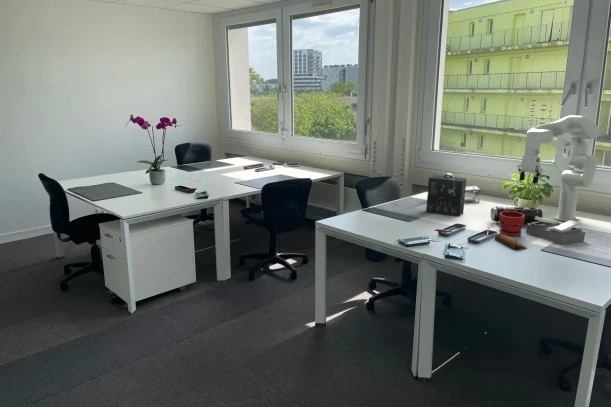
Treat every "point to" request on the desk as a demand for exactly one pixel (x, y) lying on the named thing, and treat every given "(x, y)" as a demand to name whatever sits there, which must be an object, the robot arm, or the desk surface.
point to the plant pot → (511, 223)
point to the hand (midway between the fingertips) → (528, 181)
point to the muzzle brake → (528, 212)
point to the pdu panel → (555, 232)
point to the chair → (471, 188)
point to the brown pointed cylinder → (510, 242)
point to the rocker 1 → (545, 220)
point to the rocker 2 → (566, 226)
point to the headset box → (446, 195)
